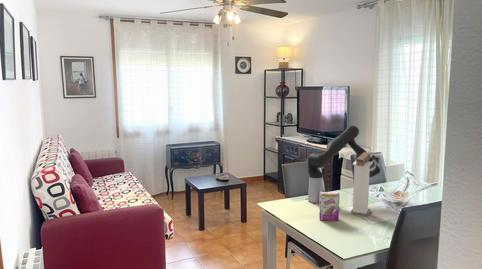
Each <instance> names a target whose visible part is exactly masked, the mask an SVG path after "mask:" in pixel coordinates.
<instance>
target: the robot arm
mask: <svg viewBox="0 0 482 269" xmlns="http://www.w3.org/2000/svg"><path fill="white" fill-rule="evenodd" d="M359 133H360V130H359V127H358V126H355V125H349V126H347V128H345V130H343V131H342V133H341V134H339V135H338V136H336V137H334V138H333V139H331V140H330V141H329V143H327V145H326V150H325V151H324V152H323V153H321V154H320V153H315V152H314V153H313V152H312V153H310V154H309V155H308V158H307V168H308V169H307V173H308V175H309V176H308V180H309V181H308V192H307V194H308V196H307V202H308V201H309V202H311V203H312V202H313V203H314V204H319V203H320V192H324V191H323V190H324V189H323V187H324V184H323V183H324V179H323V178H324V174H323V171H321V170H320V169H321V168H324V167H325V166H326V165H327V164H328V162H329V161H330V160H332V158H333V157H335V155H336V154H339V152H341V151H342V150H343V148H344V147H345V146H347V144H348V145H349V147H350V148H351V149H352V151H353V152H354V153H355V154H356V156H355V160H356V159H357V158H358V157H359V156H360V155H361V154H362V153H364V152H367V151H366V149H364V148H363V147H361V146H360V145H359V144H357V142H356V140H355V139H356V138H357V137H358V135H359ZM368 162H373V164H372V165H371V166H370V171H369V179H370V178H373V177H375V176H377V175H379V174H380V173H381V168H380V166H378V164H380V158H379V157H377V156H376V155H375V154H372V156H370V159H369V160H368Z"/></svg>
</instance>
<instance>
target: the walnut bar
mask: <svg viewBox="0 0 482 269" xmlns="http://www.w3.org/2000/svg"><path fill="white" fill-rule="evenodd" d="M370 157H371V152H367V151H366V152H364V153H362V154H361V155H360V156H359V157H358V158H357V159H356V158H355V161H356V166H364V165H365V164H366V163H367V162H368V160H369V159H370Z"/></svg>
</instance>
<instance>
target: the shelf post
mask: <svg viewBox="0 0 482 269" xmlns="http://www.w3.org/2000/svg"><path fill="white" fill-rule="evenodd" d="M372 164H373V162H367V163H366V164H365V165H364V166H356V160H355V161H354V162H353V163H352V165H353V166H354V168H353V191H352V192H353V193H352V195H353V198H352V209H351V211H350V214H352V215H356V216H362V215H363V216H364V217H369V215H370V213H371V210H372V209H371V208H369V195H370V194H369V193H370V192H369V190H370V187H369V186H370V178H369V171H370V166H371V165H372ZM363 216H362V217H363Z"/></svg>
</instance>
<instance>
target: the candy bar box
mask: <svg viewBox="0 0 482 269" xmlns="http://www.w3.org/2000/svg"><path fill="white" fill-rule="evenodd" d="M340 196H341V195H340V192H337V191H336V192H334V191H333V192H332V191H323V192H320V203H318V204H319V205H318V207H319V208H318V209H319V211H318V219H319V221H329V222H330V221H331V222H333V221H335V222H338V221H339V219H340V218H339V217H340V216H339V214H340Z"/></svg>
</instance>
